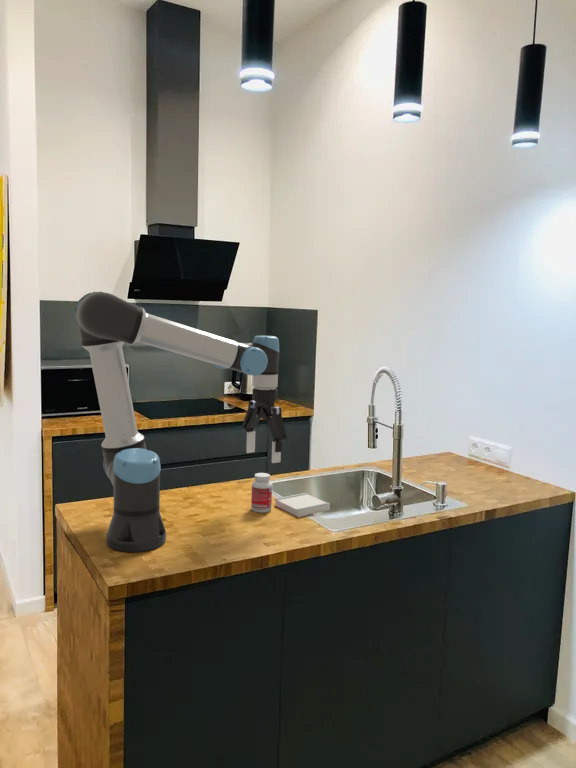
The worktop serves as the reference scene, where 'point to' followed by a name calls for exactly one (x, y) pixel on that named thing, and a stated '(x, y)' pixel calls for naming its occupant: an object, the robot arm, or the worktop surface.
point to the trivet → (302, 504)
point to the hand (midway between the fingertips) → (262, 457)
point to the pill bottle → (261, 493)
